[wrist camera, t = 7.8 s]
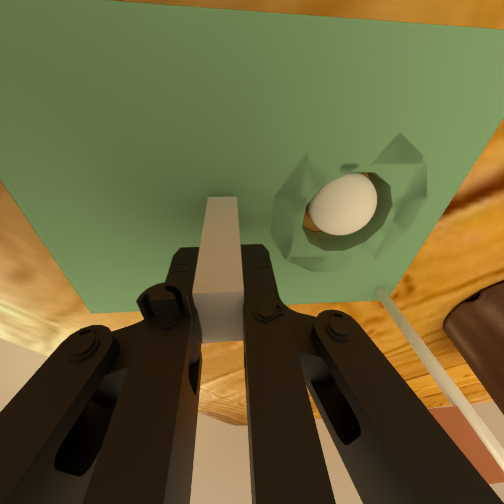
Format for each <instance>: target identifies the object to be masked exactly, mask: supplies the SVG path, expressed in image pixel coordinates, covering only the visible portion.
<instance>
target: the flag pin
mask: <svg viewBox="0 0 504 504" xmlns="http://www.w3.org/2000/svg"><path fill="white" fill-rule="evenodd" d="M373 291H374V293H375V294H376V296H377V297H378V299H379V300H380V301H381V303H382V304H383V306H384V307H385V309H386V310H387V312H388V313H389V315H390V316H391V317H392V319H393V320H394V322H395V323H396V325H397V326H398V328H399V329H400V331H401V332H402V334H403V335H404V336H405V338H406V339H407V341H408V342H409V344H410V345H411V347H412V348H413V350H414V351H415V352H416V354H417V355H418V357H419V358H420V360H421V361H422V363H423V364H424V366H425V367H426V369H427V370H428V371H429V373H430V374H431V376H432V377H433V379H434V380H435V382H436V383H437V385H438V386H439V387H440V389H441V390H442V392H443V393H444V395H445V396H446V398H447V399H448V401H449V402H450V403H451V405H452V406H453V407H444V408H433V409H428V410H429V411H430V413H431V414H432V415H433V416H434V418H435V419H436V420H437V421H438V423H439V424H440V425H441V426H442V428H443V429H444V430H445V431H446V432H447V434H448V435H449V436H450V437H451V439H452V440H453V441H454V442H455V444H456V445H457V446H458V447H459V448H460V450H461V451H462V452H463V453H464V455H465V456H466V457H467V458H468V460H469V461H470V462H471V463H472V465H473V466H474V467H475V468H476V469H477V471H478V472H479V473H480V474H481V476H482V477H483V478H484V479H485V481H486V482H487V483H488V484H495V483H502V482H504V449H503V448H502V446H501V445H500V444H499V442H498V441H497V440H496V438H495V437H494V436H493V434H492V433H491V431H490V430H489V429H488V427H487V426H486V425H485V423H484V422H483V421H482V419H481V418H480V417H479V415H478V414H477V413H476V411H475V410H474V409H473V407H472V406H471V405H470V403H469V402H468V401H467V399H466V398H465V397H464V395H463V394H462V393H461V391H460V390H459V389H458V387H457V386H456V385H455V383H454V382H453V380H452V379H451V378H450V376H449V375H448V374H447V372H446V371H445V370H444V368H443V367H442V366H441V364H440V363H439V362H438V360H437V359H436V358H435V356H434V355H433V354H432V352H431V351H430V350H429V348H428V347H427V346H426V344H425V343H424V342H423V340H422V339H421V338H420V336H419V335H418V334H417V332H416V331H415V329H414V328H413V327H412V325H411V324H410V323H409V321H408V320H407V319H406V317H405V316H404V315H403V313H402V312H401V311H400V309H399V308H398V307H397V305H396V304H395V303H394V301H393V300H392V299H391V297H390V296H389V295H388V293H387V292H386V291H385V289H384V288H383V287H382V286H377V287H375V288H374V290H373Z"/></svg>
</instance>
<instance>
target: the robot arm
mask: <svg viewBox="0 0 504 504" xmlns="http://www.w3.org/2000/svg"><path fill="white" fill-rule="evenodd" d="M170 265H171V266H170V267H169V271H168V274H167V277H166V280H165V282H164V283H158V284H156V285H153V286H151V287H149V288H147V289H146V290H145V291H144V292H142V293H141V294H140V296H139V297H138V299H137V300H136V303H137V305H138V307H139V309H140V311H141V313H142V315H143V317H144V320H142V321H140V322H138V323H136V324H133V325H130V326H127V327H124V328H121V329H118V330H115V331H112V332H111V330H110V329H109V328H108V327H106V326H103V325H91V326H88V327H85V328H82V329H80V330H78V331H76V332H75V333H73V334H71V335H70V336H69V337H68V338H67V339H65V340H64V341H63V342H62V343H61V344H60V345H59V346H58V348H57V349H56V350H55V351H54V352H53V353H52V354H51V355H50V357H49V358H48V359H47V360H46V361H45V363H43V365H42V366H41V367H40V368H39V369H38V370H37V371H36V372H35V374H34V375H33V376H32V377H31V378H30V379H29V381H28V382H27V383H26V384H25V385H24V386H23V387H22V389H20V391H19V392H18V393H17V394H16V395H15V396H14V397H13V398H12V400H11V401H10V402H9V403H8V404H7V405H6V406H5V408H4V409H3V410H2V411H1V412H0V504H190V494H191V483H192V471H193V460H194V448H195V436H196V426H197V414H198V403H199V391H200V380H201V369H202V353H201V342H202V340H203V343H212V342H226V341H240V340H243V342H244V367H245V385H246V403H247V421H248V439H249V455H250V456H249V457H250V474H251V493H252V504H336V503H335V499H334V495H333V491H332V487H331V483H330V479H329V475H328V471H327V467H326V463H325V459H324V455H323V451H322V447H321V443H320V439H319V435H318V431H317V428H316V423H315V419H314V415H313V411H312V407H311V403H310V399H309V395H308V391H307V388H308V390H309V392H310V394H311V396H312V398H313V400H314V402H315V404H316V406H317V408H318V411H319V413H320V415H321V417H322V419H323V421H324V423H325V425H326V427H327V429H328V431H329V433H330V435H331V438H332V440H333V442H334V444H335V446H336V448H337V450H338V452H339V454H340V456H341V458H342V461H343V462H344V465H345V467H346V469H347V471H348V473H349V475H350V477H351V479H352V481H353V483H354V485H355V488H356V490H357V492H358V494H359V496H360V498H361V500H362V502H363V504H504V503H503V502H502V500H501V499H500V498H499V497H498V495H497V494H496V493H495V492H494V491H493V489H492V488H491V487H490V486H489V484H488V483H487V482H486V481H485V479H484V478H483V477H482V476H481V474H480V473H479V472H478V471H477V469H476V468H475V467H474V466H473V465H472V463H471V462H470V461H469V460H468V458H467V457H466V456H465V455H464V453H463V452H462V451H461V450H460V448H459V447H458V446H457V445H456V444H455V442H454V441H453V440H452V439H451V437H450V436H449V435H448V434H447V432H446V431H445V430H444V429H443V428H442V426H441V425H440V424H439V423H438V421H437V420H436V419H435V418H434V416H433V415H432V414H431V413H430V411H429V410H428V409H427V408H426V407H425V405H424V404H423V403H422V402H421V400H420V399H419V398H418V397H417V395H416V394H415V393H414V392H413V390H412V389H411V388H410V387H409V386H408V384H407V383H406V382H405V381H404V379H403V378H402V377H401V376H400V374H399V373H398V372H397V371H396V369H395V368H394V367H393V366H392V365H391V363H390V362H389V361H388V360H387V358H386V357H385V356H384V355H383V353H382V352H381V351H380V350H379V348H378V347H377V346H376V345H375V344H374V342H373V341H372V340H371V339H370V337H369V336H368V335H367V334H366V332H365V331H364V330H363V329H362V327H361V326H360V325H359V324H358V323H357V322H356V321H355V320H354V319H353V318H352V317H351V316H350V315H348V314H346V313H344V312H342V311H338V310H325V311H323V312H321V313H319V314H318V316H317V317H314V316H310V315H306V314H301V313H298V312H295V311H293V310H291V309H289V308H288V307H287V306H286V305H285V304H284V303H283V302H282V301H281V299H280V296H279V293H278V289H277V284H276V280H275V276H274V272H273V268H272V263H271V259H270V255H269V251H268V250H267V249H266V247H265V246H264V245H263V244H241V245H240V233H239V220H238V207H237V197H208V200H207V206H206V212H205V218H204V224H203V230H202V237H201V243H200V247H180V249H179V250H178V251H177V252H176V253H175V254H174V255H173V258H172V261H171V264H170ZM305 383H306V384H305ZM306 386H307V387H306Z"/></svg>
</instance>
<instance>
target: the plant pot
mask: <svg viewBox="0 0 504 504" xmlns="http://www.w3.org/2000/svg"><path fill="white" fill-rule="evenodd" d="M444 331H445V333H446V334H447V336H448V337H449V338H450V340H451V341H452V342H453V344H454V345H455V347H456V348H457V349H458V351H459V352H460V354H461V355H462V356H463V358H464V359H465V361H466V362H467V364H468V365H469V366H470V368H471V369H472V371H473V372H474V374H475V375H476V376H477V378H478V379H479V381H480V382H481V383H482V385H483V386H484V388H485V389H486V390H487V392H488V393H489V395H490V396H491V398H492V399H493V400H494V402H495V403H496V404H497V406H498V408H499V409H500V410H501V412H502V413H503V415H504V282H503V283H500V284H497V285H495V286H492V287H490V288H488V289H486V290H483V291H482V292H481V293H480V296H479V298H478V299H476V300H475V301H472V302H463V303H461V304H460V305H459V306H458V307H457V308H456V309H454V310H453V311H452V313H451V314H450V315H449V316H448V318H447V319H446V321H445V323H444Z"/></svg>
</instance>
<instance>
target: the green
mask: <svg viewBox="0 0 504 504" xmlns="http://www.w3.org/2000/svg"><path fill="white" fill-rule="evenodd" d="M503 119H504V30H502V29H489V28H475V27H462V26H448V25H435V24H421V23H407V22H394V21H380V20H367V19H353V18H340V17H326V16H313V15H299V14H285V13H272V12H258V11H245V10H231V9H218V8H204V7H191V6H177V5H163V4H150V3H136V2H123V1H109V0H0V180H1V182H2V183H3V185H4V186H5V188H6V189H7V191H8V192H9V193H10V195H11V196H12V198H13V199H14V201H15V202H16V204H17V205H18V207H19V208H20V210H21V211H22V213H23V214H24V216H25V217H26V218H27V220H28V221H29V223H30V224H31V226H32V227H33V229H34V230H35V232H36V233H37V235H38V236H39V238H40V239H41V240H42V242H43V243H44V245H45V246H46V248H47V249H48V251H49V252H50V254H51V255H52V257H53V258H54V260H55V261H56V263H57V264H58V265H59V267H60V268H61V270H62V271H63V273H64V274H65V276H66V277H67V279H68V280H69V282H70V283H71V285H72V286H73V288H74V289H75V290H76V292H77V293H78V295H79V296H80V298H81V299H82V301H83V302H84V304H85V305H86V307H87V308H88V310H89V311H90V312H91V314H92V313H113V312H135V311H140V309H139V307H138V305H137V303H136V300H137V299H138V297H139V296H140V294H141V293H142V292H144V291H145V290H146V289H147V288H149V287H151V286H153V285H156V284H158V283H164V282H165V280H166V277H167V274H168V271H169V267H170V266H171V265H170V264H171V261H172V258H173V255H174V254H175V253H176V252H177V251H178V250H179V249H180V247H200V243H201V237H202V230H203V224H204V218H205V212H206V206H207V200H208V197H237V207H238V220H239V233H240V245H241V244H263V245H264V246H265V247H266V249H267V250H268V251H269V255H270V259H271V263H272V268H273V272H274V276H275V280H276V284H277V289H278V293H279V296H280V299H281V301H282V302H283V303H284V304H285V305H288V304H310V303H331V302H353V301H375V300H379V299H378V297H377V296H376V294H375V293H374V291H373V290H374V288H375V287H377V286H382V287H383V288H384V289H385V291H386V292H387V293H388V295H389V296H390V295H391V294H392V292H393V290H394V289H395V287H396V286H397V284H398V283H399V281H400V279H401V278H402V276H403V275H404V273H405V272H406V270H407V269H408V267H409V265H410V264H411V262H412V261H413V259H414V258H415V256H416V254H417V253H418V251H419V250H420V248H421V247H422V245H423V244H424V242H425V240H426V239H427V237H428V236H429V234H430V233H431V231H432V229H433V228H434V226H435V225H436V223H437V222H438V220H439V219H440V217H441V215H442V214H443V212H444V211H445V209H446V208H447V206H448V205H449V203H450V201H451V200H452V198H453V197H454V195H455V194H456V192H457V190H458V189H459V187H460V186H461V184H462V183H463V181H464V180H465V178H466V176H467V175H468V173H469V172H470V170H471V169H472V167H473V165H474V164H475V162H476V161H477V159H478V158H479V156H480V155H481V153H482V151H483V150H484V148H485V147H486V145H487V144H488V142H489V140H490V139H491V137H492V136H493V134H494V133H495V131H496V130H497V128H498V126H499V125H500V123H501V122H502V120H503ZM348 172H369V176H370V181H371V182H372V184H373V185H374V187H375V190H376V194H377V205H376V209H375V212H374V214H373V216H372V218H371V219H370V221H369V222H368V223H367V224H366V225H365V226H364V227H362V228H361V229H359V230H358V231H356V232H353V233H351V234H347V235H332V234H329V233H326V232H313V231H312V230H310V229H308V228H306V227H304V226H303V225H302V224H303V219H304V214H305V209H306V206H307V204H308V203H309V202H310V201H311V199H312V198H313V197H314V196H315V194H316V193H317V192H318V191H319V190H320V188H321V187H322V186H323V185H324V184H326V183H328V182H330V181H332V180H334V179H336V178H338V177H340V176H342V175H344V174H346V173H348Z"/></svg>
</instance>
